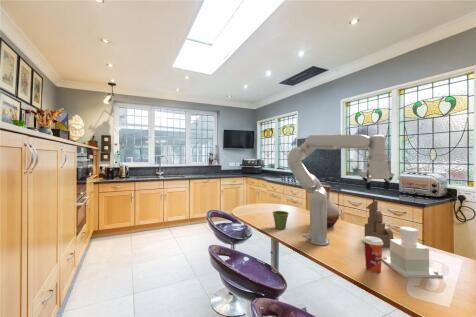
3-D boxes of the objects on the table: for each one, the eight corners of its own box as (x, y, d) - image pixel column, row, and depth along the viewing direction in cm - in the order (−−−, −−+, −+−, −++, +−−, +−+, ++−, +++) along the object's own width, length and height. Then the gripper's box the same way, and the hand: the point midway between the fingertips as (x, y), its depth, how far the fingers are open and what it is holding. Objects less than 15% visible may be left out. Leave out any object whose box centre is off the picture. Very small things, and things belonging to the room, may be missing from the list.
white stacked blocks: (403, 277, 90) (403, 251, 90) (380, 258, 106) (379, 237, 106) (442, 277, 89) (442, 251, 89) (413, 259, 105) (412, 237, 105)
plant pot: (285, 232, 146) (285, 215, 145) (269, 229, 152) (269, 213, 152) (291, 227, 156) (291, 211, 156) (276, 224, 162) (275, 209, 162)
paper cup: (376, 275, 91) (376, 243, 91) (359, 267, 98) (359, 237, 98) (387, 271, 94) (387, 240, 94) (370, 263, 101) (370, 234, 101)
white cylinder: (395, 241, 101) (395, 226, 101) (408, 240, 102) (408, 225, 101) (408, 247, 94) (408, 231, 94) (422, 246, 95) (422, 230, 95)
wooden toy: (394, 245, 121) (393, 202, 121) (385, 247, 119) (384, 203, 119) (370, 236, 136) (370, 197, 136) (362, 237, 134) (361, 198, 134)
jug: (307, 225, 160) (306, 185, 159) (318, 220, 172) (318, 183, 171) (333, 231, 145) (332, 187, 145) (343, 225, 157) (343, 185, 157)
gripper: (364, 158, 112) (364, 190, 112) (398, 157, 111) (398, 190, 111) (357, 158, 120) (357, 188, 120) (388, 157, 119) (388, 188, 119)
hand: (377, 189), depth 116 cm, fingers open, 9 cm apart
